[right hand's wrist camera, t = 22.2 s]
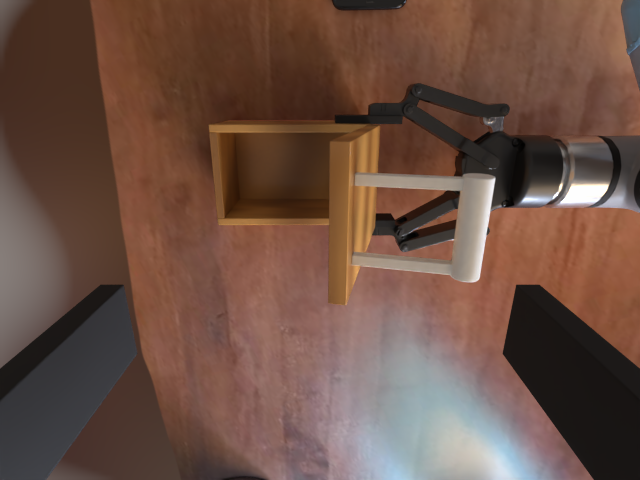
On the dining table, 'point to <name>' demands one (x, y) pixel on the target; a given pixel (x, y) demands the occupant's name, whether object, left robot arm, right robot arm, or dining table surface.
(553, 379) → the right robot arm
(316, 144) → the chest
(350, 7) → the smartphone
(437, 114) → the dining table surface
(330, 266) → the lid
